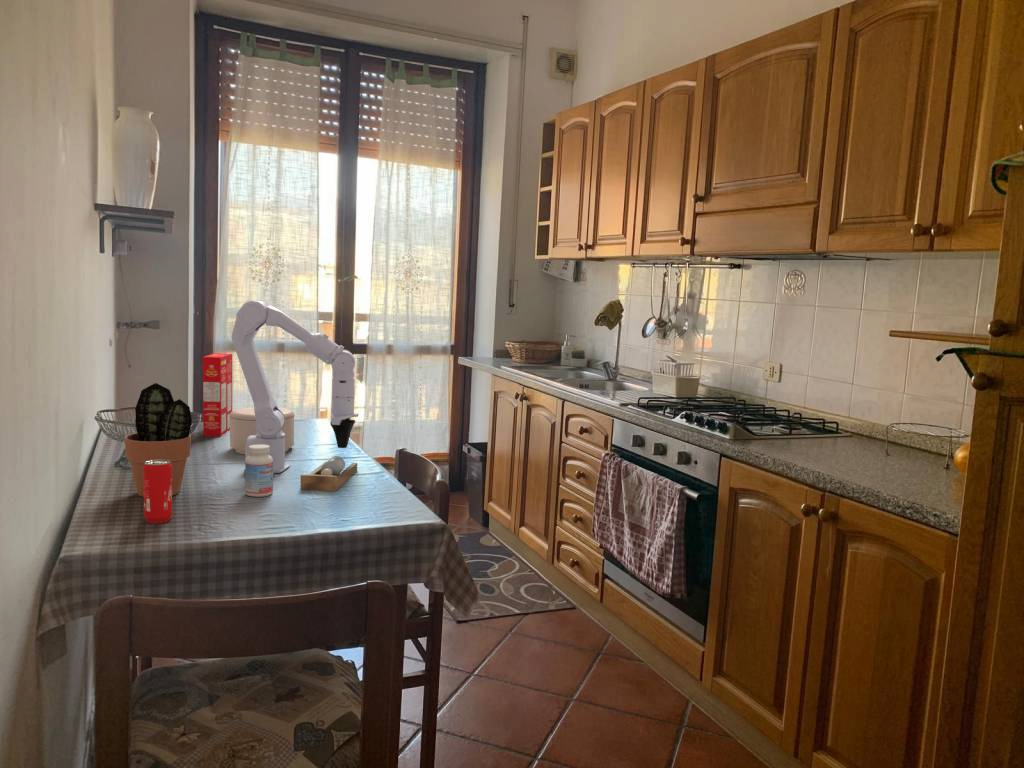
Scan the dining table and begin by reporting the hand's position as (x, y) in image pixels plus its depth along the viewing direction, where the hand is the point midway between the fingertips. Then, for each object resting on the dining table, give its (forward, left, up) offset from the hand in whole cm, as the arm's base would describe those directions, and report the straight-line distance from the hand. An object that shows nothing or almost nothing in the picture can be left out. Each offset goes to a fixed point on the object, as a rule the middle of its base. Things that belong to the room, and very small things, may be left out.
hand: (342, 447), depth 204 cm
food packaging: (-52, +43, -6) cm, 68 cm away
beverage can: (-24, -51, -6) cm, 56 cm away
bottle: (0, -6, -3) cm, 7 cm away
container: (-29, +20, -6) cm, 36 cm away
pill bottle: (-12, -28, -6) cm, 31 cm away
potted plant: (-34, -31, -6) cm, 46 cm away
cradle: (0, -11, -6) cm, 12 cm away
